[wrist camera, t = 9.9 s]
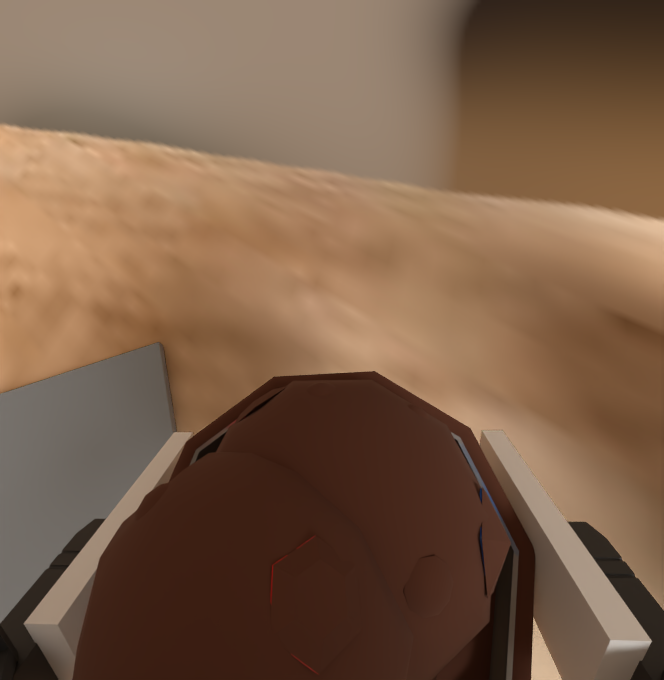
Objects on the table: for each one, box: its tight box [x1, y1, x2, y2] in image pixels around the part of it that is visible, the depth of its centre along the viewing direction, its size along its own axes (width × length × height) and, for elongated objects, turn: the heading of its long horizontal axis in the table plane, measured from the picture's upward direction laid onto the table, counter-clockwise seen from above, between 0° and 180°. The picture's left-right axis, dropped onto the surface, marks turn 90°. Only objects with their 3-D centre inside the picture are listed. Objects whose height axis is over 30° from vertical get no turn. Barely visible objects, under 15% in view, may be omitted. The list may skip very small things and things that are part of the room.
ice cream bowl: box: [72, 371, 535, 680], centre depth 11 cm, size 11×11×15 cm
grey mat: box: [0, 342, 177, 623], centre depth 20 cm, size 20×17×1 cm
